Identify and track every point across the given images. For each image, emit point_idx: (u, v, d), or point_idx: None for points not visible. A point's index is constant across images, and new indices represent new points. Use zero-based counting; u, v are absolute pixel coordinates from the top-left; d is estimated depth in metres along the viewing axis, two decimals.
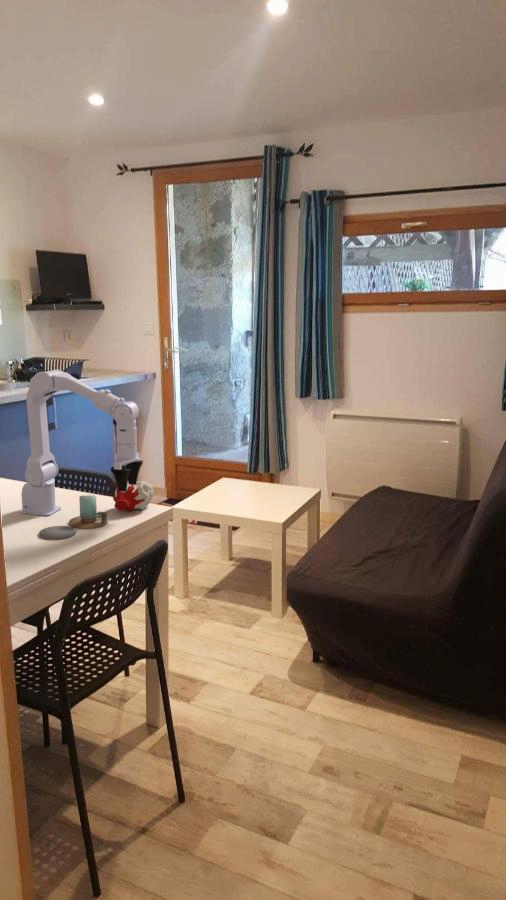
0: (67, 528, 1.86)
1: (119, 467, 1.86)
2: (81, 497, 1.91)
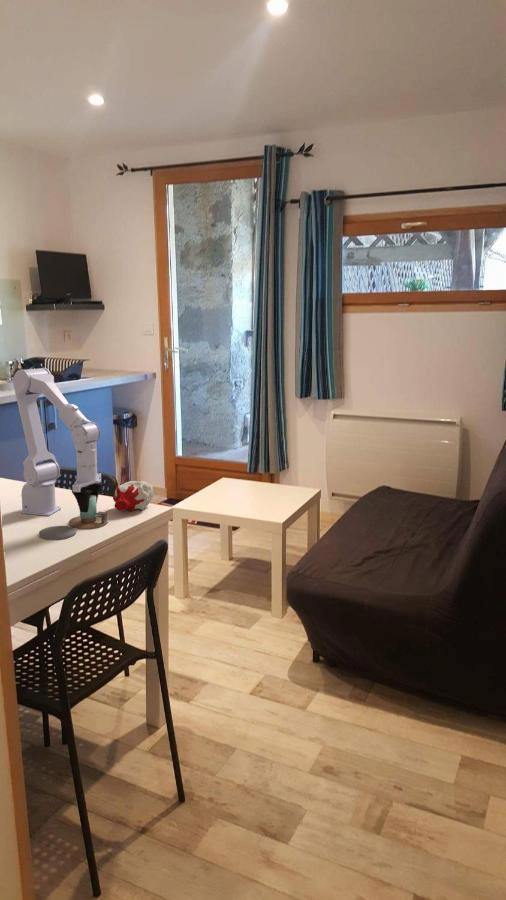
0: (67, 528, 1.86)
1: (78, 490, 1.84)
2: None
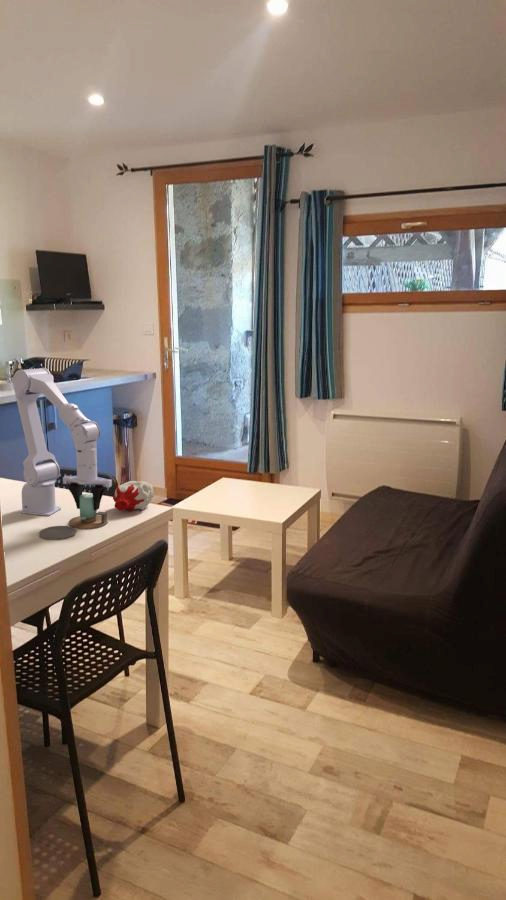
0: (67, 528, 1.86)
1: None
2: (86, 494, 1.93)
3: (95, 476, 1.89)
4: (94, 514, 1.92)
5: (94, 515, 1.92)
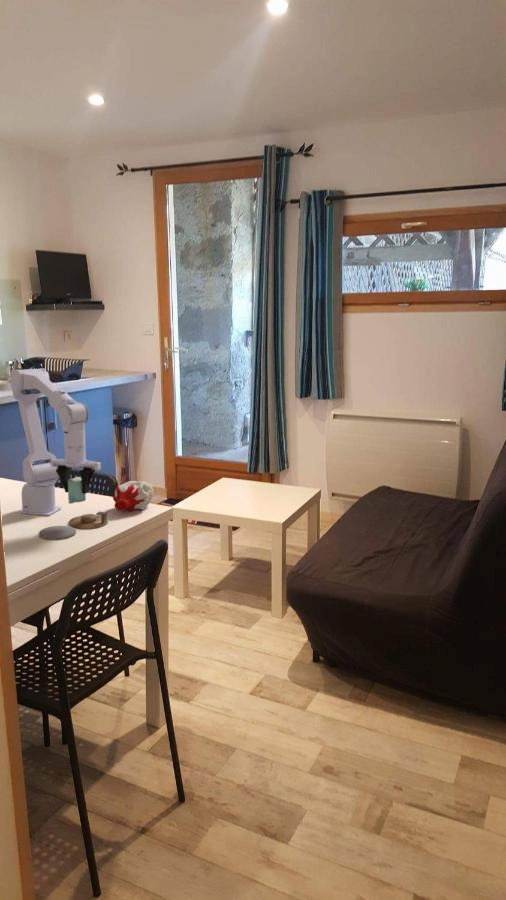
0: (67, 528, 1.86)
1: None
2: (75, 478, 1.89)
3: (83, 458, 1.84)
4: (83, 498, 1.87)
5: (83, 499, 1.87)
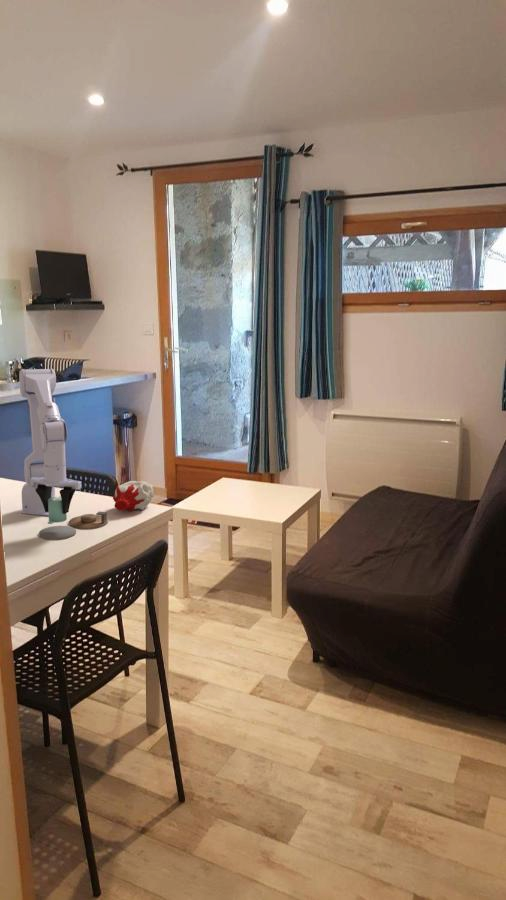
0: (67, 528, 1.86)
1: None
2: (56, 497, 1.83)
3: (64, 478, 1.79)
4: (63, 518, 1.82)
5: (63, 519, 1.82)
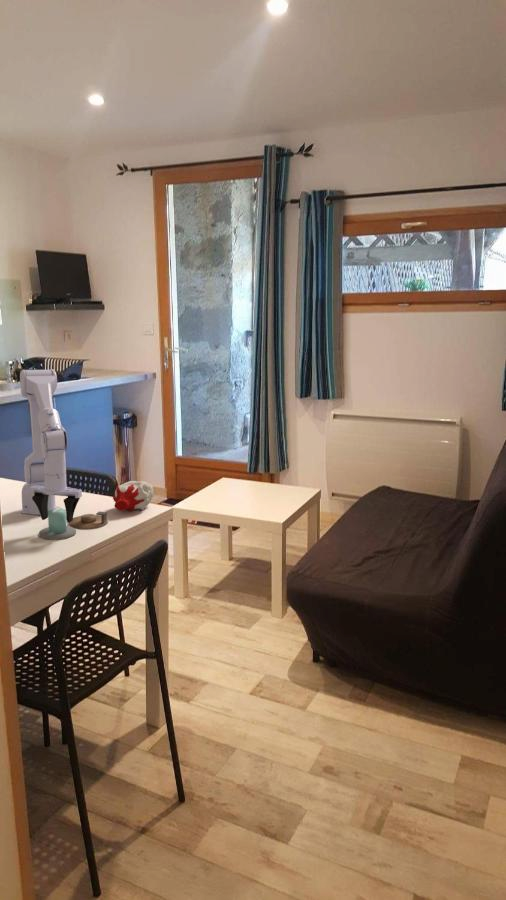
0: (67, 528, 1.86)
1: None
2: (56, 509, 1.84)
3: (64, 486, 1.80)
4: (63, 530, 1.82)
5: (63, 531, 1.82)
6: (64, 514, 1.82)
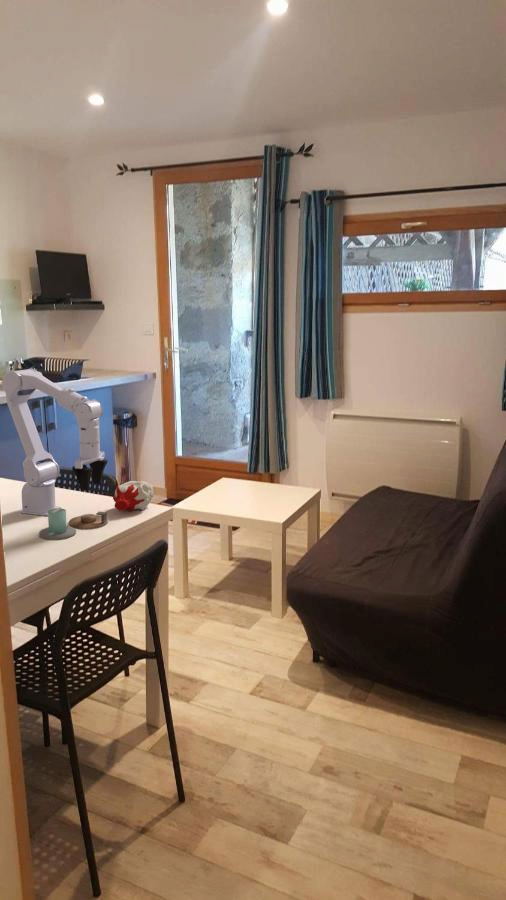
0: (67, 528, 1.86)
1: (80, 466, 1.85)
2: (56, 509, 1.84)
3: None
4: (63, 530, 1.82)
5: (63, 531, 1.82)
6: (64, 514, 1.82)
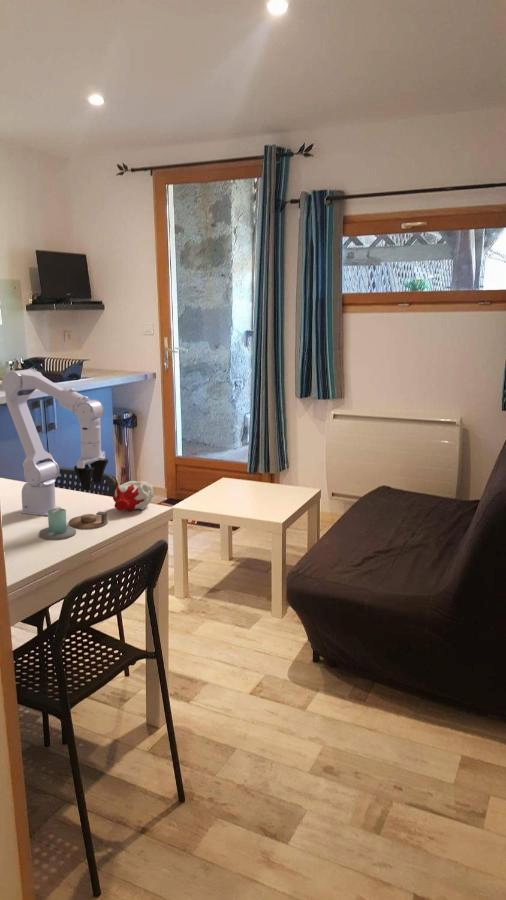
0: (67, 528, 1.86)
1: (82, 466, 1.85)
2: (56, 509, 1.84)
3: None
4: (63, 530, 1.82)
5: (63, 531, 1.82)
6: (64, 514, 1.82)
